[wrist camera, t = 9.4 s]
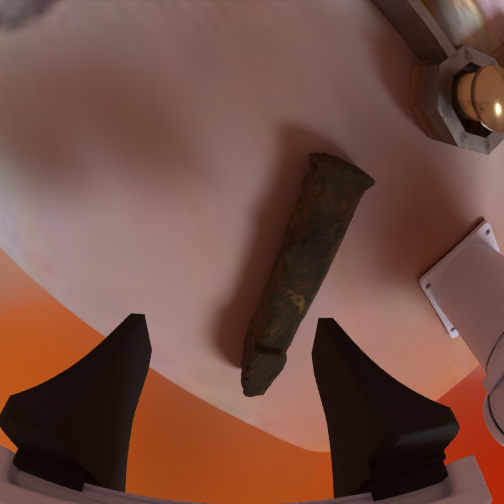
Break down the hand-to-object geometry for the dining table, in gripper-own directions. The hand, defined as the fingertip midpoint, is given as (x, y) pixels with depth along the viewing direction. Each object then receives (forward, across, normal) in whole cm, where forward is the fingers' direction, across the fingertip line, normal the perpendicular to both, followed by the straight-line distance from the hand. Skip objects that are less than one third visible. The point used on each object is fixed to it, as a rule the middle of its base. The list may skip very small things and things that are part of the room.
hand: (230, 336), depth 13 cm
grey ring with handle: (+9, -11, -14) cm, 20 cm away
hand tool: (+10, -4, +3) cm, 11 cm away
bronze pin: (+9, -14, -11) cm, 20 cm away
